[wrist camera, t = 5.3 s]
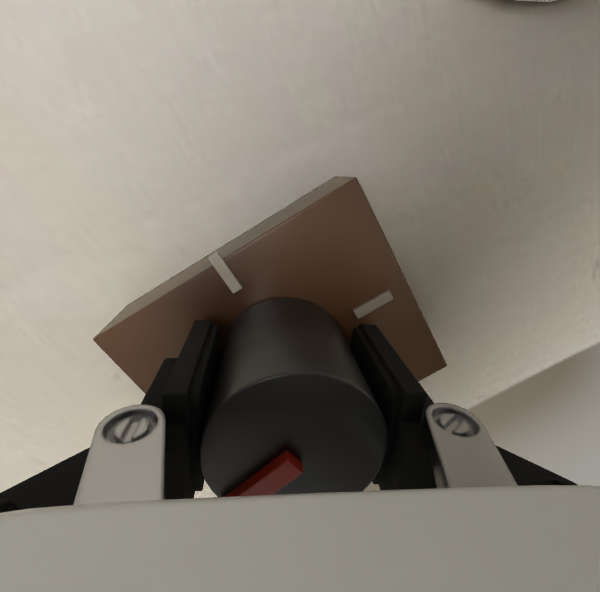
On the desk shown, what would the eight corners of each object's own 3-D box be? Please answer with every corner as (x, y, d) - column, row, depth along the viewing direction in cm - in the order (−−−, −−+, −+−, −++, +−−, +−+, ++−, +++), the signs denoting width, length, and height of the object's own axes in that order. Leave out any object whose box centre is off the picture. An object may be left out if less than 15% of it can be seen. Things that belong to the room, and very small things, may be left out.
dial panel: (332, 168, 13) (353, 167, 10) (417, 336, 16) (452, 373, 13) (121, 299, 14) (82, 335, 11) (240, 434, 17) (234, 491, 14)
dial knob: (290, 270, 11) (310, 340, 6) (368, 356, 12) (429, 462, 8) (194, 352, 11) (150, 469, 7) (278, 424, 13) (287, 558, 8)
